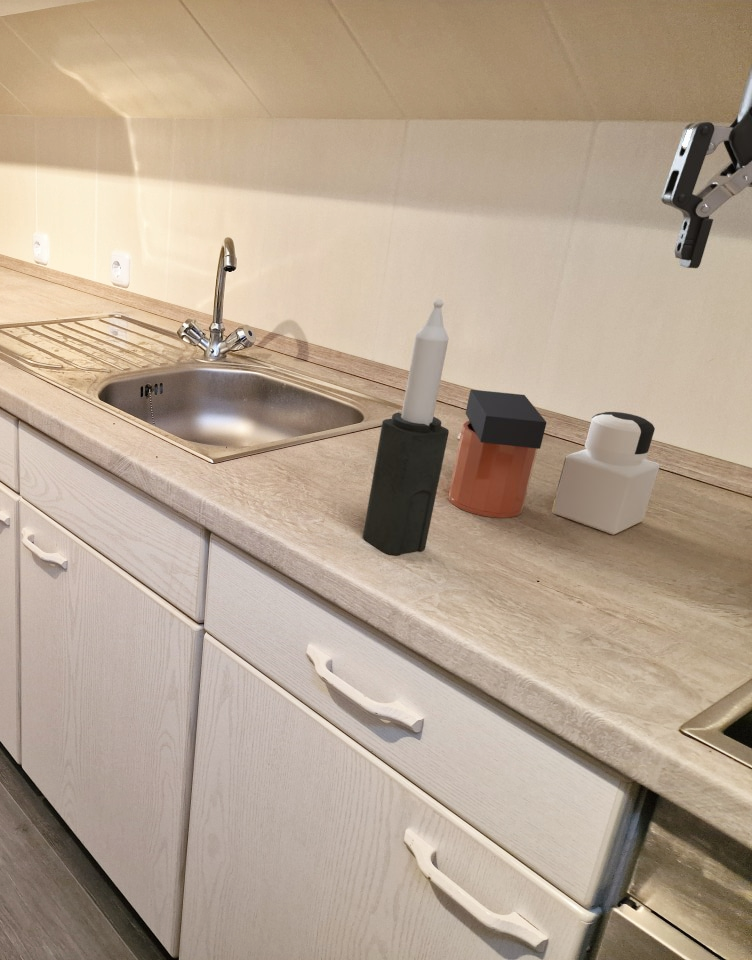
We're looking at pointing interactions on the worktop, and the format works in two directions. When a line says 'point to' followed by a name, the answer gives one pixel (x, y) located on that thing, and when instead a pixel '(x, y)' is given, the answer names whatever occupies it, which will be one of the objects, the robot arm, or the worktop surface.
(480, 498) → the cup
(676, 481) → the worktop surface
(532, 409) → the dark grey block
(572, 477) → the medicine bottle
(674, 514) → the worktop surface
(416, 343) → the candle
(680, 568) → the worktop surface
